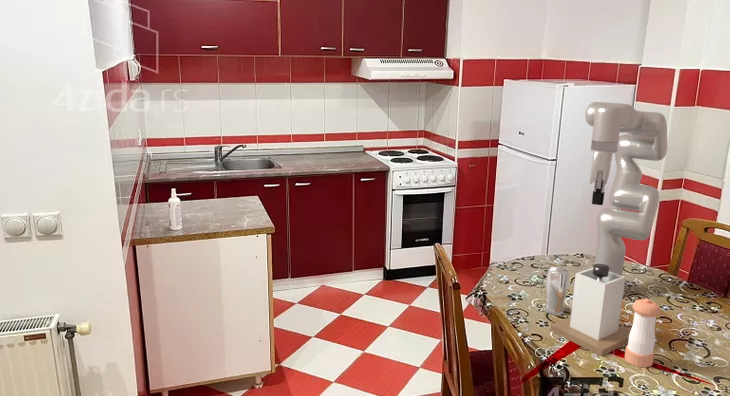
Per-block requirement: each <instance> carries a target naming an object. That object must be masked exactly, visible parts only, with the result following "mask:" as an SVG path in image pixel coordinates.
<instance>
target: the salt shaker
mask: <svg viewBox="0 0 730 396" xmlns="http://www.w3.org/2000/svg"><path fill="white" fill-rule="evenodd" d="M632 310H633V312H634V314H633V321H632V326H631V329H630V330H631V331H630V334H629V340H628V343H627V344H626V346H625V352H624V359H625V361H626V362H627V363H629V364H630V365H632V366H635V367H639V368H650V367H652V366H653V364H654V357H655V352H654V347H655V343H656V335H655V333H656V331H655V329H656V322H657V316H659V315H660V313H661V312H662V311H661V307H660V306H659V303H658V302H655V301H652V300H651V299H650V298H645V299H641V298H640V299H637V300H634V302H633V304H632Z"/></svg>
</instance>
